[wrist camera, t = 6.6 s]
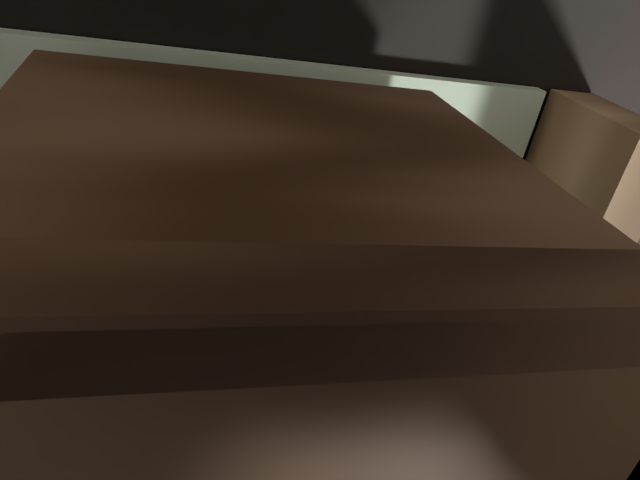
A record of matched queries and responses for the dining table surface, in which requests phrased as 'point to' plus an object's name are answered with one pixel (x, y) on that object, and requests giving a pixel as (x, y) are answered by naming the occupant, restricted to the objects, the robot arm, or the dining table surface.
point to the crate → (296, 287)
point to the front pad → (464, 95)
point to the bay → (592, 155)
